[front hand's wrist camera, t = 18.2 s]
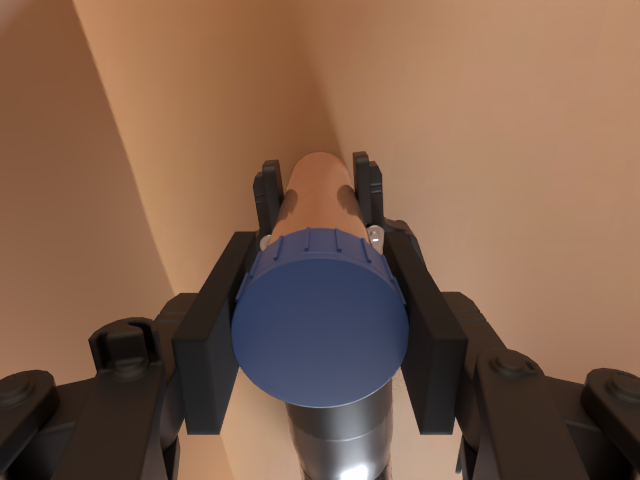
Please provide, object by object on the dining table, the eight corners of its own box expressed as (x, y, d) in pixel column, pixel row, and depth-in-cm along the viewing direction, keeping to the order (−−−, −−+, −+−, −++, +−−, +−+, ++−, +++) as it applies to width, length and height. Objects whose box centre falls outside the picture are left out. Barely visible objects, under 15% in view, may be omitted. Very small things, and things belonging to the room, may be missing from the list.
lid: (359, 376, 13) (367, 428, 11) (224, 332, 13) (205, 380, 11) (423, 258, 12) (446, 295, 10) (272, 201, 11) (260, 226, 9)
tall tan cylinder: (279, 174, 28) (213, 310, 11) (327, 139, 27) (339, 226, 10) (313, 219, 29) (304, 406, 12) (360, 187, 28) (423, 340, 11)
